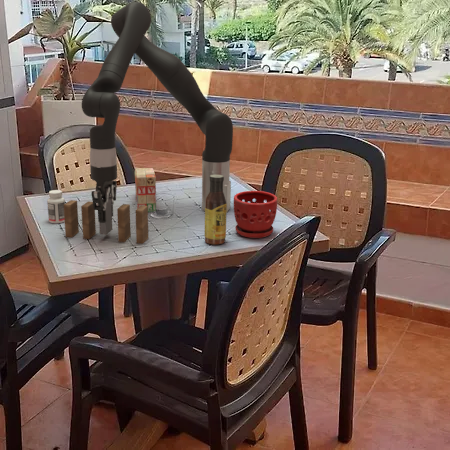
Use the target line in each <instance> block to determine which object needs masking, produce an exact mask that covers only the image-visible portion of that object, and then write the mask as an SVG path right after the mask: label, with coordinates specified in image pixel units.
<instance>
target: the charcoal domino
mask: <svg viewBox="0 0 450 450" xmlns="http://www.w3.org/2000/svg"><path fill="white" fill-rule="evenodd" d="M104 199H105V198H102V200H104ZM99 205H100V204H99ZM98 224H99V235H103V236H107V235H108V234H110V232H111V231H113V216H112V202H111V198H108V202H107V203H106V222H105V223H99V222H98Z"/></svg>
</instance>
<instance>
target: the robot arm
mask: <svg viewBox="0 0 450 450" xmlns="http://www.w3.org/2000/svg"><path fill="white" fill-rule="evenodd" d="M151 24H152V15H151V12H150V10H149V8H148V7H147V6H146V5H145V4H144V3H143V2H140V1H132V2H129V3H128V4H126V5H124V6H123V7H121V8H120V9H119V10H117V11H116V12H114V13H113V14H112V15H111V17H110V25H111V28H112V30H113V31H114V32H113V33H115V35H116V36H117V37H118V38H117V40H116V42H115V44H113V47H112V48H111V49H110V51H109V52H108V54H107V56H106V57H105V59H104V61H103V63H102V66H101V67H100V71H99V73H98V76H97V78H96V79H95V80H94V81H92V83H91V85H90V86H89V88H87V89H86V91H85V93H84V94H83V96H82V100H81V110H82V112H83V114H84V115H85V116H87V117H90V118H97V119H99V118H101V119H104V120H103V123H102V124H100V125H96V126H92V127H91V128H90V129H89V147H90V149H89V150H90V151H89V168H90V170H89V171H90V179H91V180H92V181H94V182H95V183H96V184H95V190H92V191H91V199H92V202H93V207H94V210H95V211H97V221H98V224H99V223H105V222H106V203H107V202H108V198H111V202H112V217H114V204H115V201H116V200H117V190H118V189H117V188H118V181H117V179H118V162H117V160H118V159H117V156H118V155H117V150H116V129H117V124H118V118H119V115H120V112H121V111H120V110H121V101H120V98H119V96H118V95H117V94H115V93H118V92H119V91H120V90H121V88H122V85H123V83H124V82H125V81H124V80H125V78H126V75H127V73H128V69H129V67H130V65H131V63H132V60H133V58H134V55H136V56H137V57H138V58H139V59H140V60H141V62H143V64H145V66H146V67H147V68H148V69H149V70H150V72H152V73H153V75H154V76H155V77H156V78H157V80H158V81H159V82H160V83H161V84H162V86H163V87H164V88H165V89H166V90H167V91H168V93H169V94H171V96H172V97H173V98H174V99H175V100H176V101H177V102H178V103H179V104H180V105H181V106H182V107H183V108H184V109H185V110H186V111H187V112H188V113H189V115H190V116H191V117H192V119H193V120H194V122H195V124H196V125H197V126H198V128H199V130H200V131H201V132H202V134H203V135H204V136H205V146H204V147H205V148H204V150H202V153H201V159H202V160H201V161H202V162H201V209H202V211H203V212H205V207H206V197H207V196H208V194H209V192H210V175H223V176H224V181H223V193H224V196H225V199H226V202H227V213H228V212H229V210H230V209H231V200H232V199H231V195H232V192H231V191H232V188H231V187H232V182H231V180H230V175H231V174H230V173H231V172H230V167H231V164H230V163H231V155H232V152H233V141H234V140H233V138H234V126H233V125H234V124H233V121H232V119H231V118H230V116H229V115H228V114H226V113H224V112H222V111H220V110H218V109H217V107H215V106H214V105H213V104H212V102H210V101H209V100H208V99H207V98H206V97H205V95H204V94H203V92H202V91H201V89H200V87H199V84H198V82H197V81H196V78H195V77H194V76H193V74H192V72H191V71H190V70H189V69H188V67H187V66H186V65H185V64H184V62H183V61H182V60H181V59H180V58H179V57H178V56H176V55H175V54H173V53H171V52H169V51H167V50H164V49H163V48H161V47H160V46H157V45H155V44H154V43H153V42H152V41H150V40H149V38H148V37H147V36H146V34H147V32H148V30H149V29H150V27H151ZM103 198H105V199H104V200H102V199H103ZM99 204H100V205H99Z"/></svg>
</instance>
